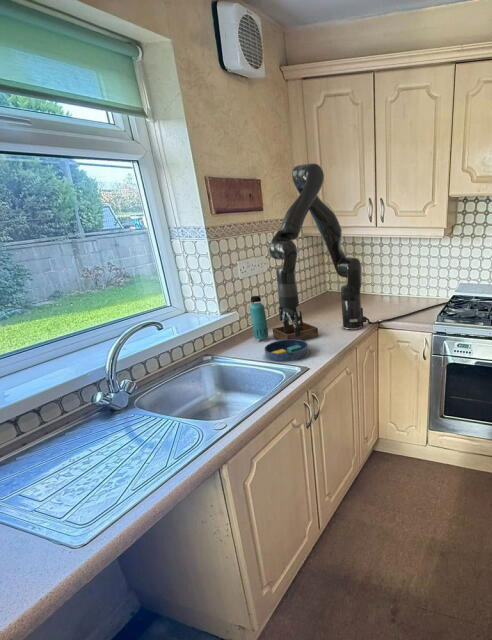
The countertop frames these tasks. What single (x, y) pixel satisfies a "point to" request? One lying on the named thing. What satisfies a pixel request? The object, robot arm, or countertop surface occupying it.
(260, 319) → the beverage bottle
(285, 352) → the block
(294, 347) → the block
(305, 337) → the box
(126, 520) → the countertop surface
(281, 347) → the bowl
